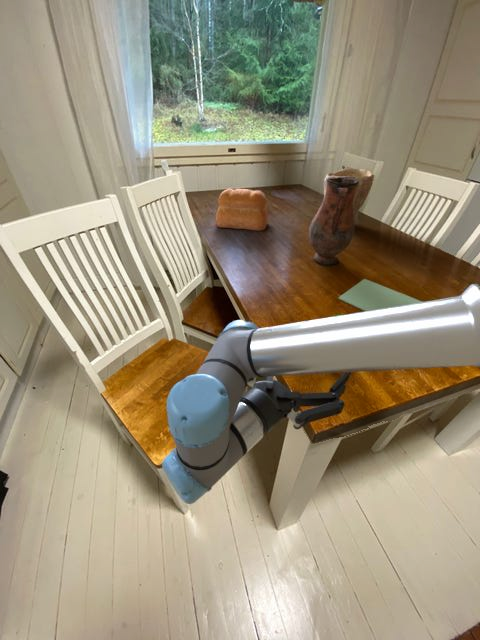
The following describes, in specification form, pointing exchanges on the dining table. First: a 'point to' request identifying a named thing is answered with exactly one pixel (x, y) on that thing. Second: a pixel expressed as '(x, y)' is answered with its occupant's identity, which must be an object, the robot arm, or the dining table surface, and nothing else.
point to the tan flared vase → (363, 186)
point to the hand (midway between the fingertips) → (319, 356)
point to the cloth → (375, 296)
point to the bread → (242, 210)
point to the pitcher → (333, 221)
